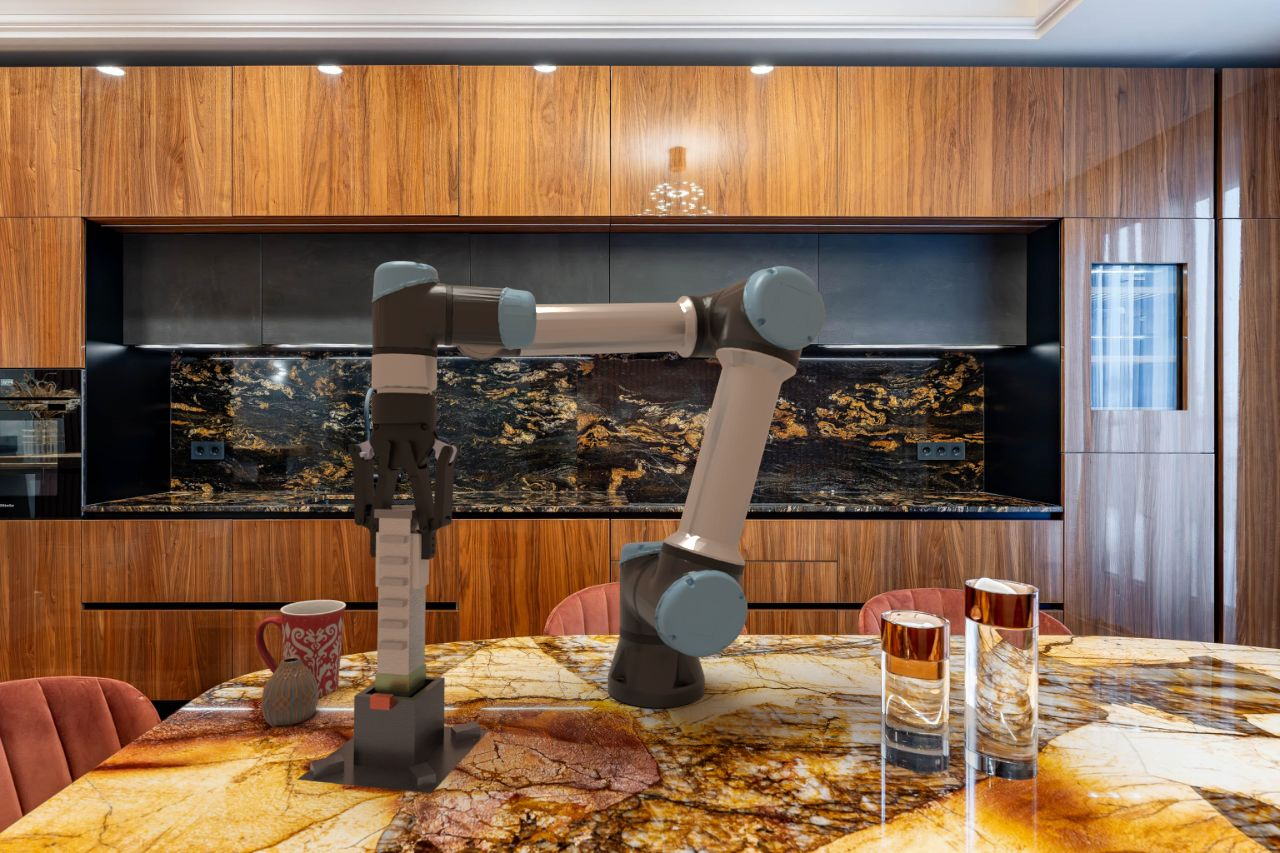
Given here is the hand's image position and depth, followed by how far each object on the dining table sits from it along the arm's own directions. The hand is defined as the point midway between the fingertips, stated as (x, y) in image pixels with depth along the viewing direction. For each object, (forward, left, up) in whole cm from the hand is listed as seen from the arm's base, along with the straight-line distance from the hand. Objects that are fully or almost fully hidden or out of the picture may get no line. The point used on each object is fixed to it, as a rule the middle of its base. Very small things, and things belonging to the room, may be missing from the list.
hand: (402, 584), depth 84 cm
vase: (+20, -7, -22) cm, 30 cm away
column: (0, 0, -13) cm, 13 cm away
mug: (+25, -16, -22) cm, 37 cm away
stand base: (0, 0, -21) cm, 21 cm away
